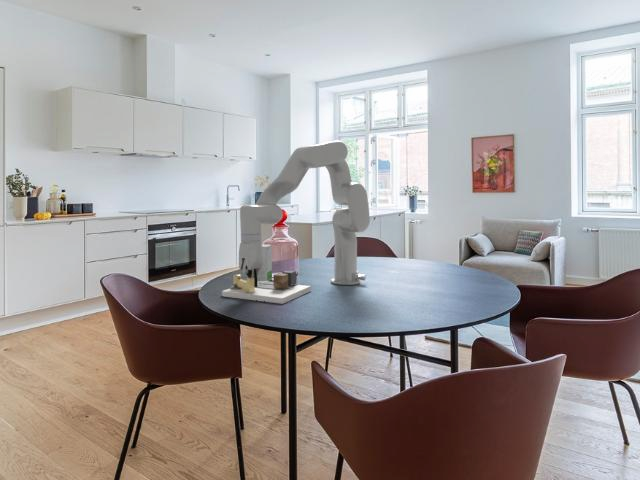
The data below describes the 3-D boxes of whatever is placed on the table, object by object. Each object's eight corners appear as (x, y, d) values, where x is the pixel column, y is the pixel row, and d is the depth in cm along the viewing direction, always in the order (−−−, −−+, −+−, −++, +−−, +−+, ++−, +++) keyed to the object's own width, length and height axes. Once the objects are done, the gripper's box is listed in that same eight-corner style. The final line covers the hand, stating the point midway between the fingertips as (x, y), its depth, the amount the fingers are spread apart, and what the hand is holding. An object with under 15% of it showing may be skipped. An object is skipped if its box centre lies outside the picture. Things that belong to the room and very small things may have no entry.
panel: (310, 291, 183) (310, 285, 183) (282, 303, 163) (282, 297, 163) (252, 284, 195) (252, 279, 194) (220, 295, 175) (219, 289, 175)
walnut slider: (288, 286, 179) (287, 273, 178) (282, 288, 175) (282, 275, 174) (279, 285, 180) (278, 273, 180) (273, 287, 177) (273, 274, 176)
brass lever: (255, 291, 171) (255, 277, 170) (248, 292, 169) (248, 278, 168) (239, 285, 182) (239, 271, 181) (232, 286, 180) (232, 272, 179)
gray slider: (296, 283, 184) (296, 271, 184) (291, 285, 181) (291, 272, 180) (287, 282, 186) (287, 270, 186) (282, 284, 183) (282, 272, 182)
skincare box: (266, 283, 198) (266, 246, 197) (252, 282, 200) (251, 246, 198) (272, 279, 206) (272, 244, 205) (258, 278, 208) (257, 243, 206)
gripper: (254, 235, 181) (256, 282, 184) (230, 240, 168) (232, 290, 170) (270, 236, 178) (272, 283, 180) (247, 241, 165) (249, 292, 167)
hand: (252, 286), depth 175 cm, fingers closed
